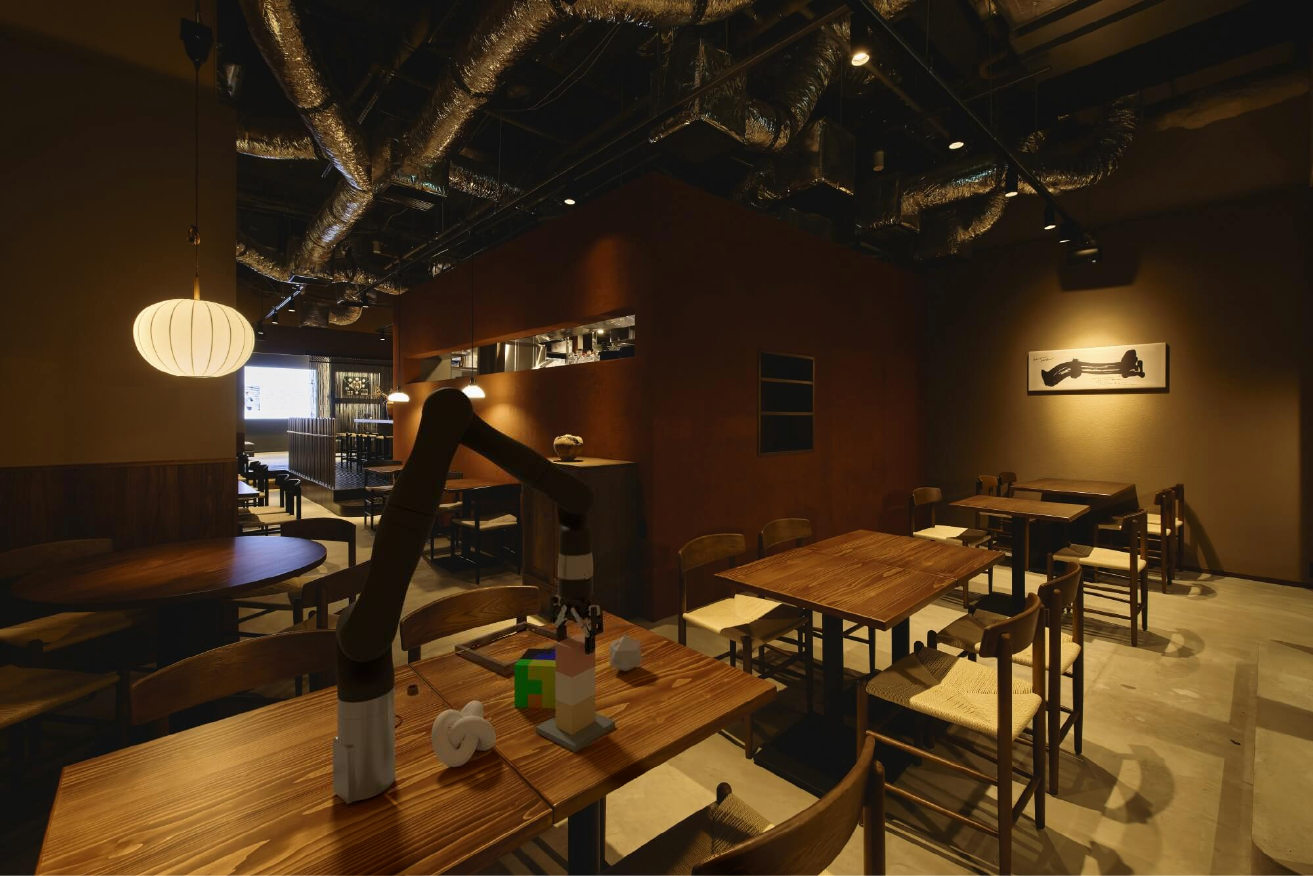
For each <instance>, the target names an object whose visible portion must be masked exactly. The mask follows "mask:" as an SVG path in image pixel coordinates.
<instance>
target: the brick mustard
mask: <svg viewBox="0 0 1313 876" xmlns="http://www.w3.org/2000/svg"><path fill="white" fill-rule="evenodd" d="M595 713H596V693H595V694H594V695H592V696H590V697H588V698H586V699H584V700H582V701H581V702H579V703H577V704H575V705H573V706H570V705H568V704H565V703H563V702H561V701H559V700H556V709H555V716H556V728H558V729H561V730H563V731H565V732H567V733H569V734H571V735H573V734H575V733H576V732H578V731H579V730H581V729H583V728H584V727H586V726H588V725H589V724H591V723H593V722H594V721H596V719H595Z"/></svg>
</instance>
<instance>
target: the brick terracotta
mask: <svg viewBox="0 0 1313 876" xmlns="http://www.w3.org/2000/svg"><path fill="white" fill-rule="evenodd" d="M571 636H572V635H571ZM585 637H586V636H585V634H581V633H577V634H575V635H573V636H572V637H570V638H567V639H565V640H562V641H560V642H557V641H556V642H555V643H556V672H559V673H562V674H564V675H567V676H569V677H574V676H576V675H578V674H580V673H582V672H584V671H586V670H588V669H590V668H593V667H595V668H596V650H595V651H594V652H593V653H591V654H589V655H587V654H585Z"/></svg>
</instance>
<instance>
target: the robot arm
mask: <svg viewBox="0 0 1313 876" xmlns="http://www.w3.org/2000/svg"><path fill="white" fill-rule="evenodd" d="M421 408H422V409H421V417H420V419H419V420H420V421H419V425H418V429H417V433H416V436H415V440H414V443H413V446H412V449H411V451H410V454H409V456H408V457H407V460H406V462H405V463H404V465H403V467H402V469H401V470H400V472H399V474H398V476H397V478H396V480H395V482H394V484H393V485H392V487H391V488H392V489H390V492H389V494H388V497H387V499H386V500H385V504H384V507H383V509H382V512H381V514H380V517H379V520H378V523H377V527H376V530H375V533H374V538H373V543H372V549H371V553H370V554H371V555H370V561H369V566H368V571H367V576H366V578H365V581H364V584H363V586H362V589H361V591H360V593H359V596H358V598H357V599H356V600H355V601H353V602H351V603H350V604H348V605H347V606H346V607H345V608H344V609H343V610H342V611H341V612H340V614H339V616H338V618H337V621H336V625H335V674H336V675H335V676H336V689H337V690H336V691H337V694H336V695H337V736H335V737H334V738H332V784H333V785H332V786H333V787H332V791H333V793H335V794H336V795H338V797H340V799H341V800H342V801H344V802H345V803H346V804H347V805H349V804H351V803H353V802H357V801H361V800H366V799H369V798H373V797H376V796H377V795H380V794H382V793H383V792H384V791H386V790H388V788H390V787H391V786H392V784H393V783H394V782H395V779H396V736H395V735H396V730H395V729H396V728H395V726H396V725H395V724H396V723H395V722H396V721H395V720H396V719H395V717H396V716H395V714H396V713H395V711H396V709H395V707H396V706H395V704H396V703H395V702H396V701H395V700H396V699H395V698H396V697H395V696H396V692H395V690H396V689H395V688H396V687H395V682H396V681H395V668H394V660H393V651H392V650H393V649H392V645H393V643H394V641H395V639H396V636H397V632H398V628H399V624H400V620H401V616H402V612H403V608H404V604H405V600H406V596H407V593H408V590H409V587H410V584H411V581H412V579H413V576H414V574H415V571H416V570H417V568H418V565H419V563H420V561H421V557H422V556H423V553H424V550H425V548H426V544H427V542H428V539H429V538H430V536H431V532H432V530H433V527H434V524H435V522H436V518H437V516H438V513H439V510H440V506H441V504H442V500H443V497H444V493H445V490H446V485H447V482H448V481H447V480H448V477H449V472H450V468H451V464H452V462H453V460H454V457H455V455H456V452H457V451H458V448H459V446H460V445H462V446H464V447H465V448H468V449H470V450H471V451H473V452H475V453H476V454H478V455H480V456H482V457H484V459H487V460H488V461H490V462H491V463H492V464H494V465H495V466H496V467H499V469H502V470H503V471H504V472H505V473H507V474H508V475H510V476H511V477H513V478H514V479H516V481H519V482H521V483H522V484H524V485H525V486H526V487H528V488H530V489H531V490H533V491H535V492H537V493H539V494H541V495H544V496H545V497H547V498H548V499H549V500H551V501H552V502H553V503H555V504H556V513H557V521H558V527H559V536H558V537H559V539H558V540H559V541H558V543H559V544H558V546H559V548H558V552H559V553H558V561H557V594H554V595H551V596H550V598H549V617H548V618H549V619H548V620H549V623H550V624H554V627H555V628H556V630H555V631H556V639H557V640H556V643H557V642H560V641H562V640H565V639H567V635H568V634H567V633H568V631H567V630H568V626H567V623H568V622H569V621H572V622H574V623H576V624H578V626H579V628H580V629H582V631H583V634H584V635H585V636H586V637H585V654H587V655H589V654H591V653H593V652H594V651H595V652H596V636H597V635H600V634H603V633H604V614H603V613H604V612H603V610H604V608H603V605H602V604H597V605H596V604H592V601H591V598H592V596H593V594H594V561H593V560H594V559H593V534H592V529H591V527H590V525H589V520H588V513H589V512H590V511H592V509H593V508H594V507H595V504H596V494H595V491H594V490H593V488H592V487H591V486H590V485H589V484H588V483H586V482H585V481H583V480H582V479H579V478H578V477H576V476H575V475H572V474H571V473H569V472H567V471H565V470H564V469H562V468H560V467H559V466H558V465H557V464H555V463H554V462H553V461H551V460H550V459H548V458H547V457H546V456H544V455H543V454H541V453H539V452H538V451H536V450H535V449H533V448H532V447H529V446H528V445H527V444H524V443H522V442H520V441H519V440H517V439H514V438H513V437H511V436H509V435H507V434H505V433H503V432H501V431H500V430H498V429H496V428H495V427H493V426H492V425H490V424H489V423H487V422H486V421H485V420H484V419H482V418H481V417H480V416H479V415H478V414H477V413H475V411H474V406H473V404H472V401H471V399H470V397H469V396H468V395H467V394H466V393H465V392H464V391H462V390H460V389H459V388H457V387H453V386H451V387H450V386H449V387H441V388H439V389H436V390H434V391H431V393H430V394H429V395H428V396H427V397H426V399H425V400H424V402H423V404H422V407H421Z"/></svg>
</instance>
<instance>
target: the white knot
mask: <svg viewBox="0 0 1313 876" xmlns="http://www.w3.org/2000/svg"><path fill="white" fill-rule="evenodd" d="M484 711H485V709H484V706H483V704H482V702H480V701H479V700H472V701H469V702H467V704H466V705H465V706H464V707H463V708H462V709H461V711H459V710H455V709H451V708H450V709H447V710H445V711H442V712H441V713H439V714H438V716H436V719H435V720H434V722H433V725H432V727H431V737H430V738H431V744H432V748H433V752H434V753H435V755H436V757H437V759H438V760H439V761H440V762H441V763H442V764H444V765H445V766H448V767H451V768H456V767H461V766H463V765H465V764H466V763H467V762H468V761H470V759H471V758H472V757H473V754H474V753H475V751H476V750H478V751H488V750H490V749H492V748H493V746H494V744H495V743H496V740H497V734H496V731H495V729H494V726H493V725H492V724H491V723H490V722H489V721H488V720H486V719H485V718H484V715H485V713H484ZM449 727H450V729H449Z"/></svg>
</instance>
